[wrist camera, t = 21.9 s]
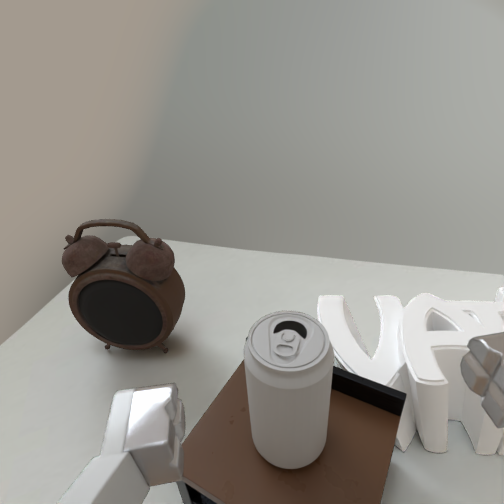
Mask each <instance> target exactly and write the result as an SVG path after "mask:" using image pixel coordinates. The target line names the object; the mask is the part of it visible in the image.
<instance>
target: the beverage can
mask: <svg viewBox="0 0 504 504" xmlns="http://www.w3.org/2000/svg"><path fill="white" fill-rule="evenodd" d="M333 362H334V351H333V347H332V344H331V342H330V340H329V335H328V333H327V330H326V329H325V327H324V326H323V325H322V324H321V323H320V322H319V321H318V320H316V319H315V318H313V317H311V316H310V315H307V314H304V313H301V312H296V311H278V312H274V313H270V314H268V315H266V316H264V317H262V318H260V319H259V320H258V321H257V322H255V324H254V325H253V326H252V327H251V329H250V331H249V334H248V339H247V341H246V343H245V346H244V364H245V373H246V383H247V392H248V402H249V411H250V421H251V431H252V438H253V442H254V444H255V447H256V449H257V450H258V452H259V453H260V454H261V456H262V457H263V458H264V459H265V460H267V461H268V462H269V463H271V464H273V465H275V466H277V467H280V468H285V469H297V468H301V467H304V466H307V465H309V464H310V463H312V462H313V461H314V460H316V459H317V458H318V456H319V455H320V454H321V452H322V450H323V448H324V446H325V443H326V437H327V426H328V415H329V405H330V394H331V384H332V373H333Z"/></svg>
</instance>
